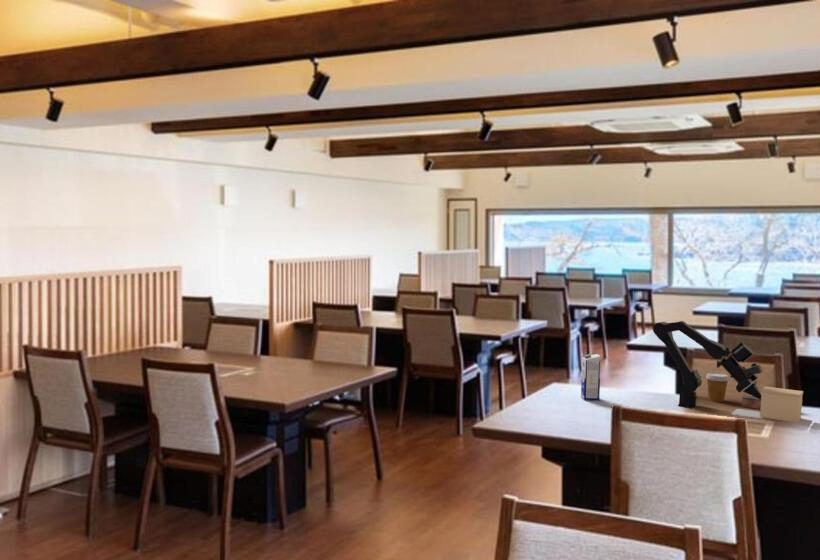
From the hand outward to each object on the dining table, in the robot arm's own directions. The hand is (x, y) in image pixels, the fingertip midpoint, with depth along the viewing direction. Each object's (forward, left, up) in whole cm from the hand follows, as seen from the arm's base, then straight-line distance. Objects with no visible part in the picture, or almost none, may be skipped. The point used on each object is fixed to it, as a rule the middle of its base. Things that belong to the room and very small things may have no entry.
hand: (762, 398), depth 320 cm
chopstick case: (0, +15, -7) cm, 17 cm away
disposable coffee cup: (-22, +19, -7) cm, 30 cm away
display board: (+1, 0, -7) cm, 7 cm away
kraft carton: (+7, 0, -7) cm, 10 cm away
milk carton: (-69, -13, -7) cm, 70 cm away
